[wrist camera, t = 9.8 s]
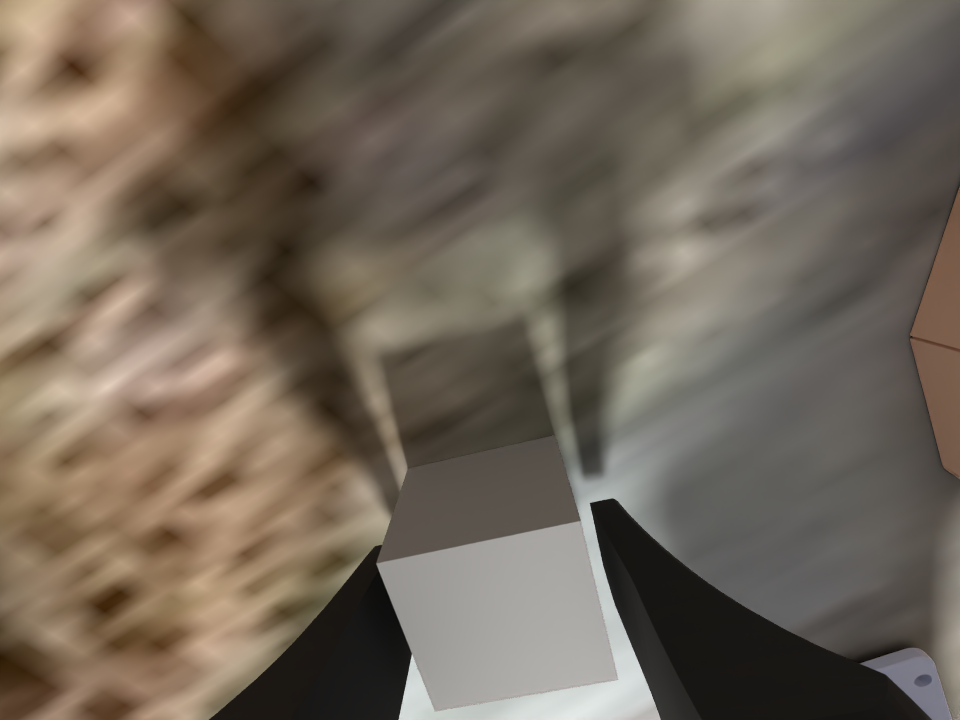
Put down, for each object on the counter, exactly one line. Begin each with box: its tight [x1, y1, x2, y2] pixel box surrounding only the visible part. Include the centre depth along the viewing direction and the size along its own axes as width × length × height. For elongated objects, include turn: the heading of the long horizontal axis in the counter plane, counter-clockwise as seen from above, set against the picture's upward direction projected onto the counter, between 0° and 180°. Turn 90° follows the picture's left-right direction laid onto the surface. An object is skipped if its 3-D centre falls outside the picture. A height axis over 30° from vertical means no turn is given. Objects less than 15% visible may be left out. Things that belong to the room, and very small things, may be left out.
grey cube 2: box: [376, 435, 618, 711], centre depth 12 cm, size 4×4×4 cm
